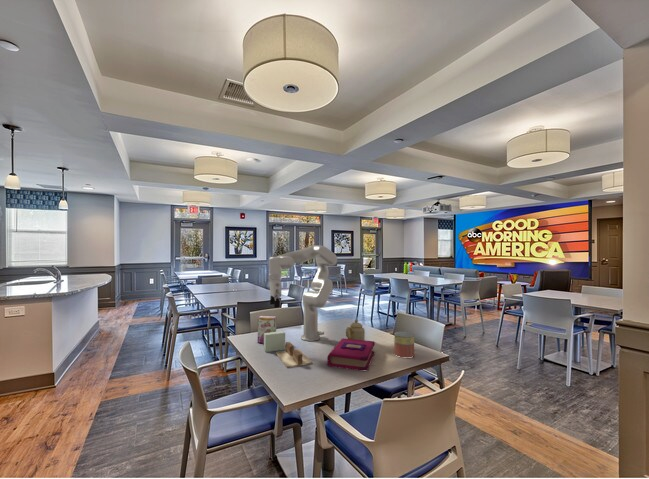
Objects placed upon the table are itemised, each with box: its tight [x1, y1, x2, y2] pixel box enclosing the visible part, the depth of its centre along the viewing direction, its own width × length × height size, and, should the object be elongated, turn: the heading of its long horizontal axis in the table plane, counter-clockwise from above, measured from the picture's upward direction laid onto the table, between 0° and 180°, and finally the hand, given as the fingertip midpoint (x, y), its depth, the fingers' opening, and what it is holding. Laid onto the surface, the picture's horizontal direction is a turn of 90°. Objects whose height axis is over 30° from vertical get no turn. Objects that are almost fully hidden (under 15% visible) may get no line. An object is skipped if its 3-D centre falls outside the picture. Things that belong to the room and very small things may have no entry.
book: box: [326, 337, 376, 371], centre depth 167 cm, size 21×28×8 cm
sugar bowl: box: [345, 318, 366, 341], centre depth 196 cm, size 15×11×15 cm
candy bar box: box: [257, 315, 277, 344], centre depth 194 cm, size 11×5×16 cm, turn 84°
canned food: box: [393, 330, 415, 358], centre depth 174 cm, size 11×11×12 cm
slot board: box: [275, 341, 314, 369], centre depth 167 cm, size 14×22×6 cm, turn 24°
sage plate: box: [263, 330, 286, 353], centre depth 181 cm, size 12×4×10 cm, turn 114°
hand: (274, 305), depth 181 cm, fingers open, 9 cm apart
